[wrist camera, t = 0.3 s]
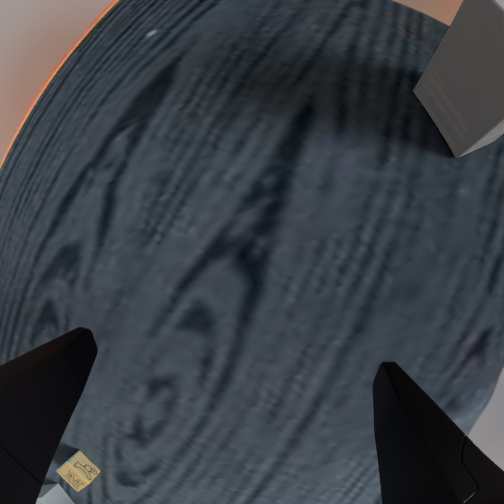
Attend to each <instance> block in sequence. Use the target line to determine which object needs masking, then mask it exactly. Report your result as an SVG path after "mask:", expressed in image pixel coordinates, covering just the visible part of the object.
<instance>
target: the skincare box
mask: <svg viewBox="0 0 504 504" xmlns="http://www.w3.org/2000/svg"><path fill="white" fill-rule="evenodd" d="M413 92H414V94H415V95H416V96H417V98H418V99H419V101H420V102H421V104H422V105H423V106H424V108H425V109H426V111H427V112H428V114H429V115H430V117H431V118H432V120H433V121H434V123H435V124H436V126H437V127H438V129H439V131H440V132H441V134H442V135H443V137H444V139H445V140H446V142H447V144H448V145H449V147H450V149H451V151H452V152H453V154H454V156H455V157H456V158H458V157H461V156H463V155H465V154H467V153H470V152H472V151H474V150H476V149H479V148H481V147H483V146H485V145H488V144H490V143H492V142H493V141H494V140H496V139H497V138H498V137H500V136H501V135H502V134H504V0H463V2H462V4H461V6H460V8H459V10H458V12H457V14H456V16H455V18H454V20H453V22H452V24H451V25H450V27H449V29H448V31H447V32H446V34H445V36H444V38H443V39H442V41H441V43H440V45H439V47H438V49H437V50H436V52H435V54H434V55H433V57H432V59H431V61H430V62H429V64H428V66H427V68H426V69H425V71H424V73H423V74H422V76H421V78H420V79H419V81H418V83H417V85H416V86H415V88H414V90H413Z"/></svg>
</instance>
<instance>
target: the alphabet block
mask: <svg viewBox="0 0 504 504" xmlns="http://www.w3.org/2000/svg"><path fill="white" fill-rule="evenodd" d="M56 471H57V472H58V473H59V474H60V475H61V477H63V479H64V480H65V481H66V482H68V483H69V485H71V486H72V487H73V488H74V489H75V490H76V491H77V492H78V491H80V490H81V489H83V488H84V487H85V486H87V485H88V484H90V483H91V481H92V480H93V479H94V478H95V477H96V476H97V475H98V474H99V472H100V470H99V469H98V468H97V467H96V466H95V465H94V464H93V463H92V462H91V461H90V460H89V459H88V458H87V457H86V456H85V455H84V454H83V453H82V452H81V451H80V450H79V451H78V452H76V453H75V454H74V455H73V456H72V457H70V458H69V459H68V460H67V461H66V462H65V463H64V464H63V465H61V466H60V467H59V468H58V469H57V470H56Z"/></svg>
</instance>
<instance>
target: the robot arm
mask: <svg viewBox="0 0 504 504" xmlns="http://www.w3.org/2000/svg"><path fill="white" fill-rule="evenodd" d="M96 356H97V346H96V343H95V340H94V337H93V334H92V332H91V330H89V329H87V328H83V327H78V328H76V329H74V330H72V331H70V332H68V333H66V334H64V335H62V336H60V337H58V338H56V339H54V340H52V341H50V342H48V343H46V344H43V345H41V346H39V347H37V348H35V349H33V350H31V351H29V352H27V353H25V354H23V355H21V356H19V357H17V358H15V359H13V360H11V361H9V362H7V363H5V364H3V365H1V366H0V504H36V502H37V499H38V496H39V493H40V490H41V488H42V485H43V482H44V479H45V477H46V474H47V472H48V469H49V467H50V464H51V462H52V459H53V457H54V454H55V452H56V450H57V447H58V445H59V442H60V440H61V438H62V436H63V433H64V431H65V429H66V427H67V424H68V422H69V420H70V418H71V416H72V413H73V411H74V409H75V407H76V405H77V403H78V401H79V399H80V397H81V394H82V392H83V390H84V387H85V385H86V382H87V379H88V377H89V374H90V371H91V369H92V366H93V364H94V361H95V358H96ZM373 407H374V433H375V441H376V449H377V457H378V465H379V474H380V484H381V496H382V504H504V471H503V470H502V469H501V468H499V467H498V466H497V465H496V464H495V463H494V462H493V461H492V460H490V459H489V458H488V457H487V456H486V455H485V454H484V453H483V452H482V451H481V450H480V449H479V448H478V447H477V446H476V445H475V444H474V443H473V442H472V441H471V440H470V439H469V438H468V437H467V436H465V434H464V433H463V431H462V430H461V429H460V428H459V427H458V426H457V425H456V424H455V423H454V422H453V421H452V420H451V419H450V418H449V417H448V416H447V415H446V414H445V413H444V412H443V410H442V409H441V408H440V407H439V406H438V405H437V404H436V403H435V402H434V401H433V400H432V399H431V398H430V397H429V396H428V395H427V394H426V393H425V392H424V391H423V390H422V389H421V388H420V387H419V386H418V385H417V384H416V383H415V382H414V381H413V380H412V379H411V378H410V377H409V375H408V374H407V373H406V372H405V371H404V370H403V369H402V368H401V367H400V366H399V365H398V364H397V363H395V362H382V363H381V364H380V366H379V369H378V371H377V374H376V376H375V379H374V381H373Z"/></svg>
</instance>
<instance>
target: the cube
mask: <svg viewBox="0 0 504 504" xmlns="http://www.w3.org/2000/svg"><path fill="white" fill-rule="evenodd" d="M36 504H75V503H74V502H73V501H72V500H71V499H70V497H69V496H68V495H67V494H66V493H65V491H64V490H63V489H62V488H61V486H60V485H59V484H58V483H57V484H49V485H42V488H41V490H40V493H39V496H38V499H37V502H36Z"/></svg>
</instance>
